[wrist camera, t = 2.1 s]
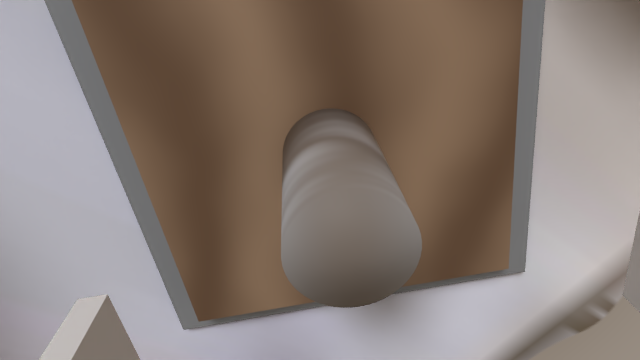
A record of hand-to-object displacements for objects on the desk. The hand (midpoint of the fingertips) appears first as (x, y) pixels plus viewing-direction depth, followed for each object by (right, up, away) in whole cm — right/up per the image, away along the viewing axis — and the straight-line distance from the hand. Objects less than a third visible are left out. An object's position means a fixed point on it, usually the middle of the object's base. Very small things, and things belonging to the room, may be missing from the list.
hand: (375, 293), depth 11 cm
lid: (-1, +5, +9) cm, 10 cm away
